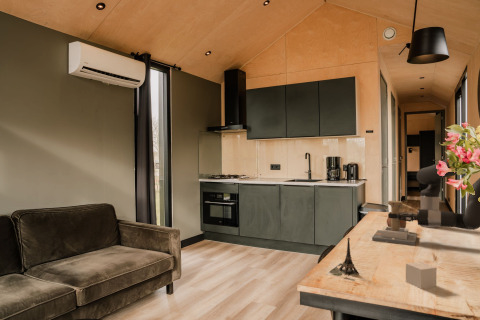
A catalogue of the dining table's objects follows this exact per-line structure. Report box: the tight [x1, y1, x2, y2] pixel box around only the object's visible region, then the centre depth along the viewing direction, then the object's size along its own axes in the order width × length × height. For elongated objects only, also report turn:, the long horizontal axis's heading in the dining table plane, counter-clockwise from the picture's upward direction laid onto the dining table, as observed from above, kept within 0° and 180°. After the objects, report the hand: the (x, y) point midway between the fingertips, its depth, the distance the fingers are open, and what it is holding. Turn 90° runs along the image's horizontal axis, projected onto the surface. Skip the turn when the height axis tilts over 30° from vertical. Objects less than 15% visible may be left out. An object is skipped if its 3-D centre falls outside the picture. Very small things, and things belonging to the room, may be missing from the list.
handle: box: [387, 200, 403, 232], centre depth 162 cm, size 5×6×15 cm
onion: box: [386, 217, 407, 229], centre depth 178 cm, size 10×9×10 cm
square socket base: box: [371, 225, 418, 246], centre depth 162 cm, size 18×18×4 cm
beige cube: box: [405, 261, 438, 290], centre depth 105 cm, size 6×6×6 cm
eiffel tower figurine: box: [329, 237, 360, 281], centre depth 117 cm, size 15×10×13 cm
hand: (388, 215), depth 164 cm, fingers closed on handle, 3 cm apart
